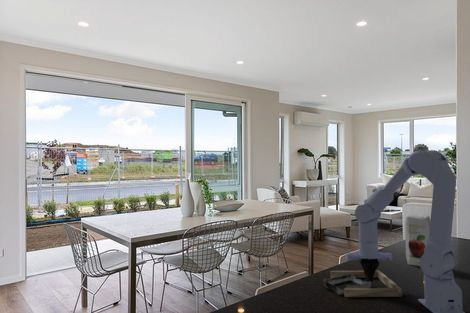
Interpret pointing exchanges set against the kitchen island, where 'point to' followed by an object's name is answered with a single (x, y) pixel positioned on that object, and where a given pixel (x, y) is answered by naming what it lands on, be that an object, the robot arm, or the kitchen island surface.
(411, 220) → the juice carton
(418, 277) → the kitchen island surface
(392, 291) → the oak box frame
